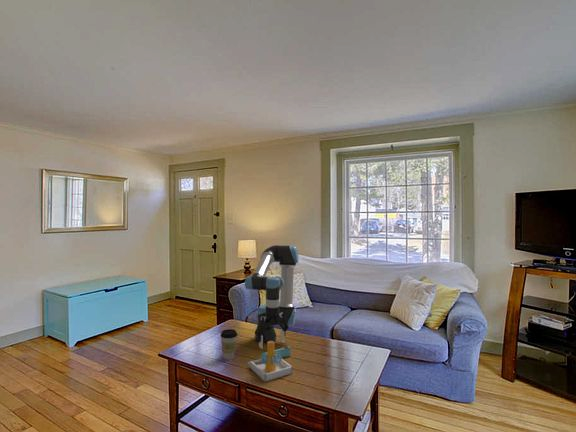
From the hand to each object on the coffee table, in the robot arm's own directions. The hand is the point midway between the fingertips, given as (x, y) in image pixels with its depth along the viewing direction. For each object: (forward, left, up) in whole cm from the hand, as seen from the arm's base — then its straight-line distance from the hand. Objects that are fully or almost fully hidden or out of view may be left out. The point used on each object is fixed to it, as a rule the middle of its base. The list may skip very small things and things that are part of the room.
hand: (271, 344), depth 168 cm
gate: (-10, -10, -14) cm, 20 cm away
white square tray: (0, -1, -14) cm, 14 cm away
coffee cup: (+14, -27, -14) cm, 33 cm away
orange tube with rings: (+1, 0, -14) cm, 14 cm away
